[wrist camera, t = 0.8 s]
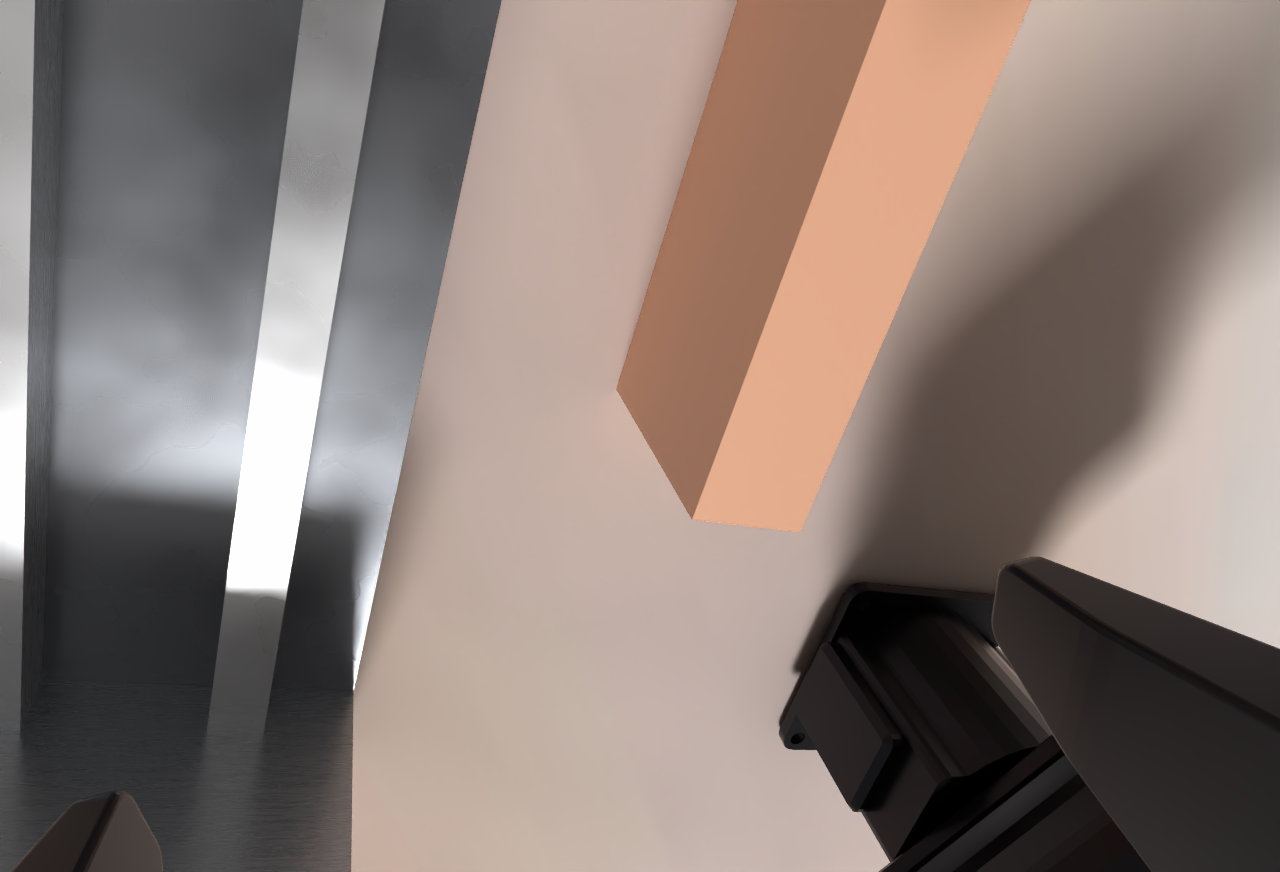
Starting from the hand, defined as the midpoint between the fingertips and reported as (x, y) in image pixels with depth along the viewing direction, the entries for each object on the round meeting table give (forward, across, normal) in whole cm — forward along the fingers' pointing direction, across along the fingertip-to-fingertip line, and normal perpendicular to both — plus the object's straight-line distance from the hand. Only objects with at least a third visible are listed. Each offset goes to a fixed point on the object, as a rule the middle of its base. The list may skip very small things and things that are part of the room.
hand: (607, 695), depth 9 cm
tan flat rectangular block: (+13, -6, -2) cm, 14 cm away
